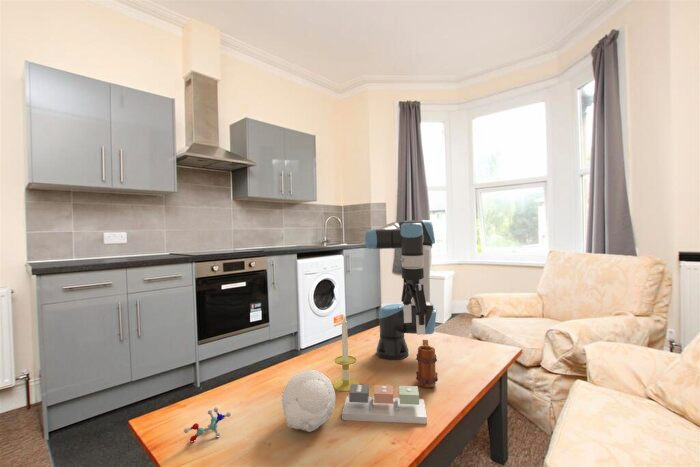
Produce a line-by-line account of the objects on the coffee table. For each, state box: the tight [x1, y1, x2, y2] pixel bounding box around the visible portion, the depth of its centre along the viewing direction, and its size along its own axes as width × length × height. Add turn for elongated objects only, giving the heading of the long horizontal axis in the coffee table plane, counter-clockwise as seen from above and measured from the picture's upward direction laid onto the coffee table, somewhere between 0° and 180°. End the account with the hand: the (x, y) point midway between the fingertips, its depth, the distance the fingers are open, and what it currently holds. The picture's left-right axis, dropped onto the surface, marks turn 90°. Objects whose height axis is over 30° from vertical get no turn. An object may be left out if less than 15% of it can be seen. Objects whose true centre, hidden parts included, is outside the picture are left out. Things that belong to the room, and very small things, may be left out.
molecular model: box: [183, 407, 232, 442], centre depth 96 cm, size 12×10×10 cm
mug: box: [415, 339, 439, 389], centre depth 128 cm, size 15×8×15 cm, turn 168°
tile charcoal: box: [348, 383, 370, 403], centre depth 108 cm, size 6×6×3 cm
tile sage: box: [398, 385, 420, 405], centre depth 106 cm, size 6×6×3 cm
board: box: [341, 395, 428, 425], centre depth 107 cm, size 11×26×3 cm, turn 83°
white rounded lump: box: [281, 369, 336, 433], centre depth 101 cm, size 20×18×16 cm
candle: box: [332, 316, 359, 392], centre depth 127 cm, size 10×10×27 cm
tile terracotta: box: [373, 384, 394, 404], centre depth 107 cm, size 6×6×3 cm
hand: (414, 328), depth 116 cm, fingers open, 13 cm apart
